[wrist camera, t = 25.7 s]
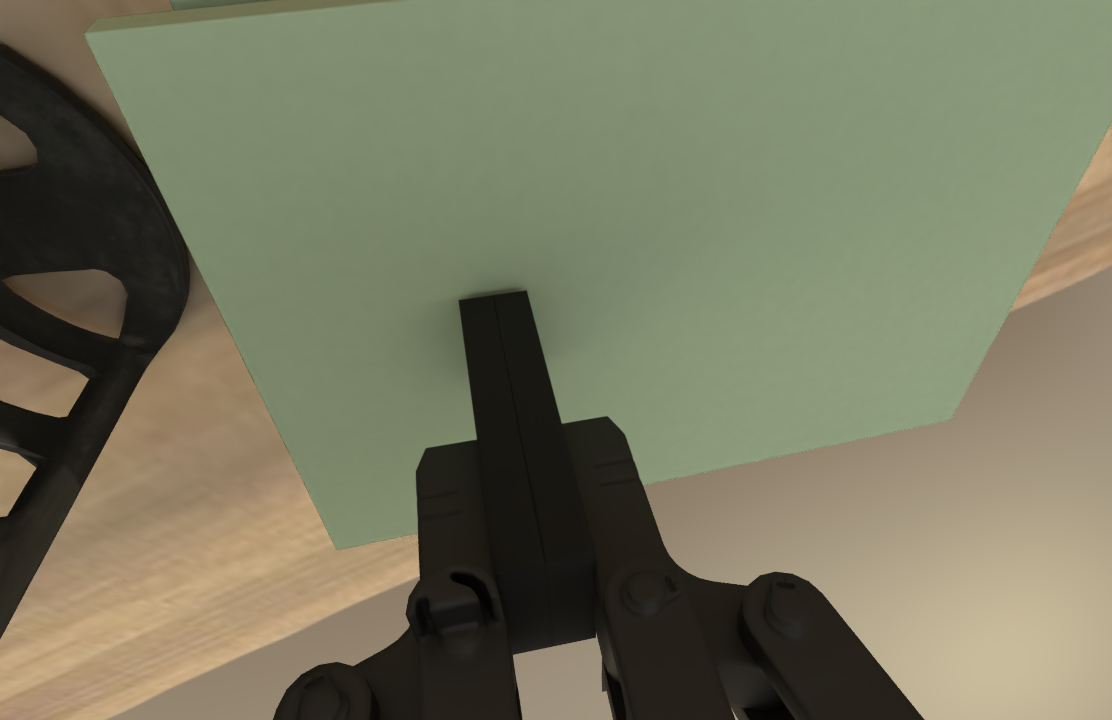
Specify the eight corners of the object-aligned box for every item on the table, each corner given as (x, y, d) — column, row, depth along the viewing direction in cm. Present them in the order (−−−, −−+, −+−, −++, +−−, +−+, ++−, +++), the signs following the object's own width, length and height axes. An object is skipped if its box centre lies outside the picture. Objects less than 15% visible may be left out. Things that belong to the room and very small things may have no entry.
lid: (337, 528, 20) (336, 551, 19) (96, 18, 10) (80, 33, 10) (935, 403, 23) (950, 420, 22) (1188, -94, 13) (1226, -86, 12)
